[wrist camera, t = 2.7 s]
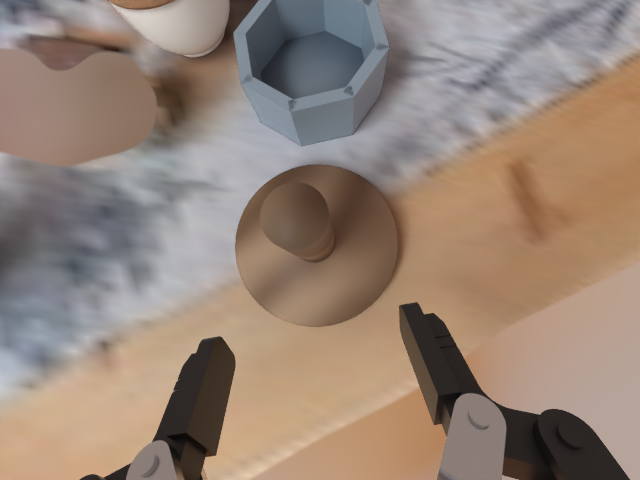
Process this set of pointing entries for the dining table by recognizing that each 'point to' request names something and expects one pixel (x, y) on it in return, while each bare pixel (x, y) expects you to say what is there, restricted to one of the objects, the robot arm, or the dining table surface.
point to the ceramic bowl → (312, 65)
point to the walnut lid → (316, 245)
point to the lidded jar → (178, 23)
